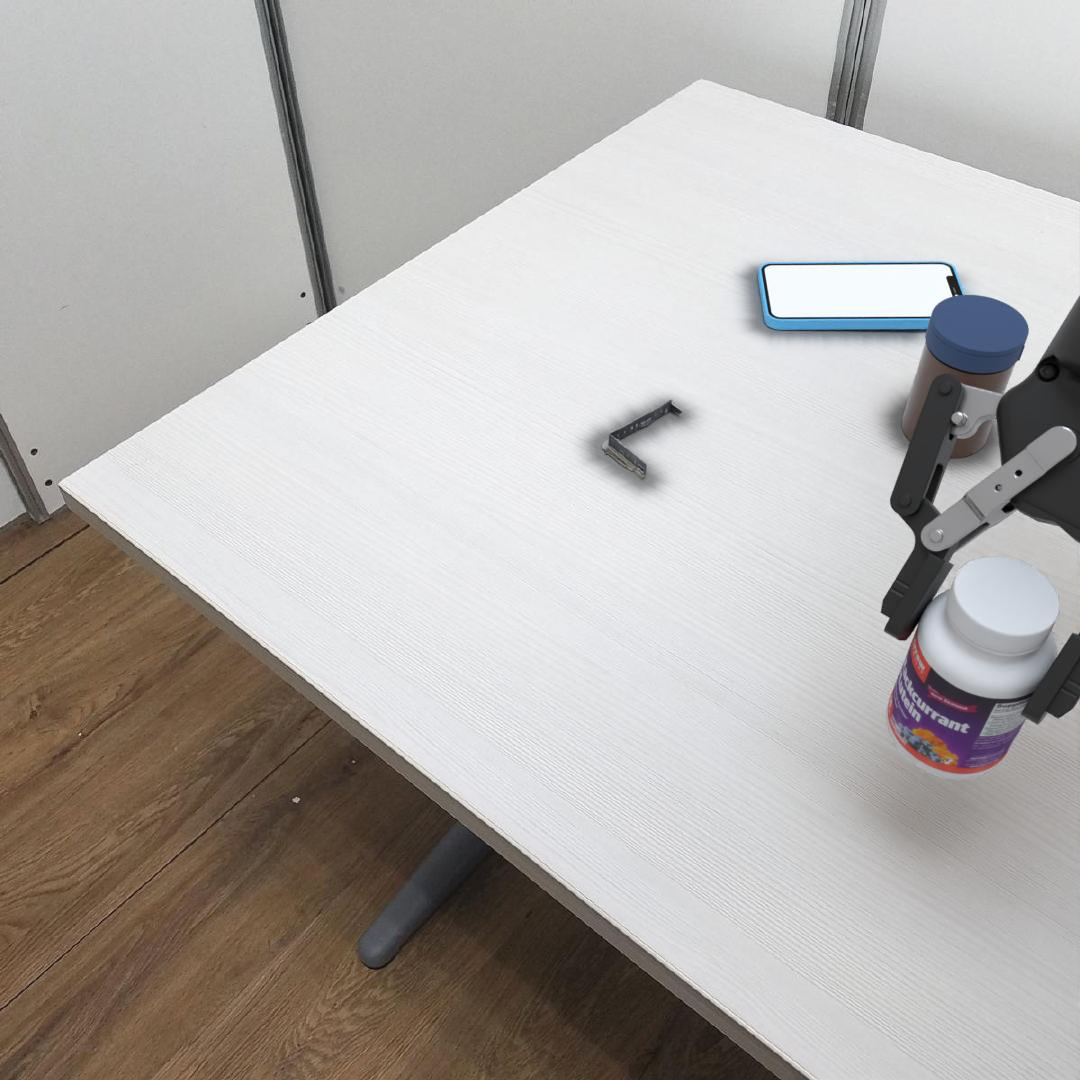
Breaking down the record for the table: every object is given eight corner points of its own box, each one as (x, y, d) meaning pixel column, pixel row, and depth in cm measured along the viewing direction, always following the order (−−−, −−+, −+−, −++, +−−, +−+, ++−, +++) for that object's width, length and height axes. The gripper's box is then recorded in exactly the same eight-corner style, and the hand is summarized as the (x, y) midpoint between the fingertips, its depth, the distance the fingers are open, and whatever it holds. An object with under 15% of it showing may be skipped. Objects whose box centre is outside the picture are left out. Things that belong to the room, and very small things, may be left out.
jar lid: (1035, 338, 73) (1044, 316, 71) (1001, 386, 70) (1009, 364, 68) (947, 305, 75) (953, 283, 74) (909, 350, 72) (916, 328, 71)
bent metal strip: (675, 468, 73) (597, 458, 74) (673, 483, 74) (596, 474, 75) (683, 396, 78) (611, 388, 79) (681, 412, 79) (610, 403, 80)
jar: (999, 423, 78) (1037, 322, 72) (967, 469, 75) (1004, 368, 69) (922, 392, 80) (952, 291, 74) (887, 435, 77) (916, 334, 71)
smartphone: (757, 262, 90) (952, 261, 89) (756, 275, 91) (949, 273, 90) (767, 320, 85) (974, 319, 84) (765, 333, 85) (970, 332, 85)
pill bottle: (858, 709, 52) (906, 571, 45) (951, 664, 54) (1011, 523, 47) (938, 803, 49) (1003, 670, 42) (1033, 752, 51) (1112, 615, 43)
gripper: (1011, 192, 43) (783, 580, 46) (1430, 353, 37) (1133, 793, 39) (1032, 252, 50) (831, 589, 53) (1391, 397, 43) (1138, 772, 46)
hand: (962, 674), depth 46 cm, fingers closed on pill bottle, 5 cm apart
